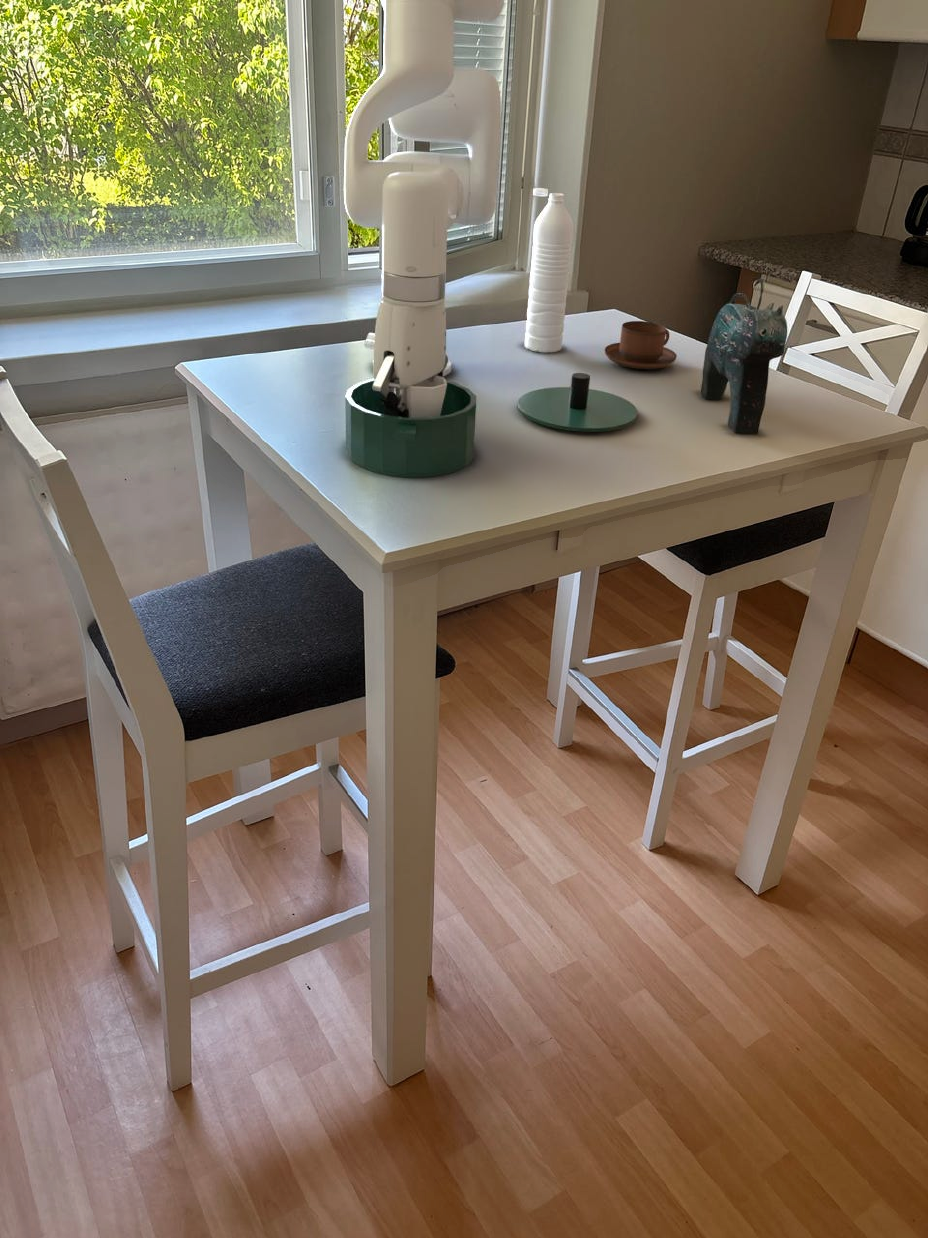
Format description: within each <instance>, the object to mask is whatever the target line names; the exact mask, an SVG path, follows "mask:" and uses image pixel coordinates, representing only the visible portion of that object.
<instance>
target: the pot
mask: <svg viewBox="0 0 928 1238" xmlns="http://www.w3.org/2000/svg"><path fill="white" fill-rule="evenodd" d="M445 380H446V383H447V387H446V392H445V396H444V400H443V405H442V409H441V414H440V416H437V417H426V418H406V417H397V416H389V415H385V407H383V406H382V401H381V400H380V399H379V396H378V395H377V394H376V393H375V392H374V391H373V389H372V387H373V384H374V381H375V379H374V378H371V379H367V380H363V381H360V382H358V383H356V384H354V385H352V386H351V387H350V388H348V389H347V391H346V394H345V396H344V397H345V401H344V402H345V403H344V404H345V448H346V449H345V450H346V452H347V456H348V458H349V459H350V460H351V462H352V463H354V464H355V465H357V466H359V468H363V469H364V470H367V471H370V472H373V473H375V474H380V475H385V476H390V477H398V478H399V477H400V478H430V477H431V478H432V477H438V476H443V475H447V474H451V473H455V472H457V471H460V470H462V469H463V468H465V467H467V466H468V465H469V464H470V463H471V462H472V460H473V458H474V453H475V451H474V450H475V436H476V435H475V433H476V417H477V395H476V394H475V393H474V392H473V391H472V390H471V389H470V388H468V387H466V386H464V385H462V384H460V383H457V382H455V381H451V380H447V379H445ZM393 392H394V390H393Z"/></svg>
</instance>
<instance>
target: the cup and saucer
mask: <svg viewBox="0 0 928 1238" xmlns="http://www.w3.org/2000/svg"><path fill="white" fill-rule="evenodd" d="M669 340H670V331H669V330H668V329H667V328H666V326H664V325H662V324H660V323H657V322H652V321H644V320H631V321H625V322H624V323H622V324H621V331H620V339H619V342H615V343H611V344H609V345H607V346H605V348H604V354H605V355H606V357H607V358H608V359H609V360H610V361H611V362H613V363H615V364H617V365H620V366H623V367H626V368H630V369H631V368H632V369H637V370H656V369H663V368H666V367H668V366H670V365H672V364H673V363H675V361H676V360H677V357H678V356H677V353H676V352H675V351H673V350H672V349H670V348H667V347H665V346H666V345H667V344H668V342H669Z"/></svg>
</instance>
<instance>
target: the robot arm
mask: <svg viewBox="0 0 928 1238" xmlns="http://www.w3.org/2000/svg"><path fill="white" fill-rule="evenodd" d="M380 2H381V6H382V8H383V65H382V71H381V74H380V75H379V77H378V78H377V79H376V80H375V81H374V82H373V83H372V84H371V85H370V86H369V87H368V88H367V90H366V91H365V92H364V94H363V95H362V96H361V98H360V99H359V100H358V103H357V104H356V106H355V107H354V109H353V112H352V114H351V116H350V119H349V122H348V125H347V128H346V135H345V141H344V166H343V167H344V170H343V199H344V206H345V211H346V214H347V216H348V218H349V220H350V221H351V222H353V223H354V224H355V225H357V226H360V227H362V228H370V229H381V231H382V234H381V235H382V239H381V240H382V241H381V242H382V243H381V244H382V246H381V247H382V248H381V249H382V250H381V251H382V254H381V255H382V256H381V262H382V265H381V266H382V267H381V268H382V269H381V293H382V294H381V299H382V300H380V301H379V304H378V309H377V314H376V320H375V329H374V332H369V333H368V334H367V336H366V339H365V341H364V348H366V349H370V350H373V358H372V359H373V360H372V376H373V379H375V381H374V384H373V387H372V389H373V391H374V392H375V393H376V394H377V395H378V396H379V399H380V400H381V401H382V406H383V407H385V415H389V416H397V417H406V418H408V410H407V409H405V406H406V402H407V393H406V388H408V387H409V386H413V385H415V384H417V383H419V382H422V381H424V380H426V379H429V381H430V382H433V378H434V375H437V376H440V377H446V376H447V375H449V374H450V373H451V372H452V367H453V363H452V361H451V360H450V359H449V357H448V355H447V316H446V304H445V300H446V278H447V251H448V249H447V247H448V230H449V229H450V228H451V227H452V226H453V225H455V226H482V225H485V224H487V223H489V222H490V221H491V220H492V218H493V217H494V214H495V211H496V208H497V207H496V206H497V200H498V199H497V198H498V185H499V183H498V182H499V161H500V142H501V122H502V100H501V99H502V98H501V91H500V90H501V89H500V86H499V85H500V84H499V83H498V80H497V78H496V77H495V76H494V74H493V73H491V71H488V70H486V69H483V68H478V67H461V66H454V65H455V64H454V63H455V62H454V61H455V60H454V59H455V22H456V21H463V22H465V21H467V22H480V23H481V22H484V23H489V22H494V20H496V19H498V18H499V16H500V14H501V13H502V11H503V8H504V4H505V0H380ZM387 121H388V122H389V126H390V129H391V131H392V132H393V134H394V135H395V136H396V137H399V138H400V139H404V140H409V141H413V142H414V141H415V142H425V143H428V142H429V143H443V144H444V143H445V144H447V143H448V144H460V145H461V144H462V145H463V146H465V147H466V149H467V150H468V154H466V153H445V152H433V151H413V150H411V151H400V152H395V153H392V154H390V155H388V156H386V157H385V158H384V159H383V160H378V159H377V160H374V159H373V160H370V159H368V151H369V144H370V141H371V139H372V137H373V135H374V133H375V132H376V131H377V129H379V127H381V126H382V125H383V124H385V122H387ZM395 378H399V383H395V382H394V380H395ZM394 388H398V389H400V393H399V398H398V397H397V396H396V394H395V393H394V392H393V390H394Z"/></svg>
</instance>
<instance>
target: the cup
mask: <svg viewBox="0 0 928 1238" xmlns="http://www.w3.org/2000/svg"><path fill="white" fill-rule="evenodd" d="M446 380H447V379H446V378H445V376H443V377H440V376H437V375H434V378H433V382H430V381H429V379H426V380H424V381H422V382H419V383H417V384H415V385H413V386H409V387H408V388H406V393H407V402H406V406H405V409H407V410H408V418H426V417H437V416H440V414H441V409H442V405H443V400H444V396H445V392H446V387H447V383H446ZM394 382H395V383H399V378H395V380H394ZM394 393H395V394H396V396H397V397H398V398H399V393H400V389H398V388H394Z"/></svg>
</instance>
